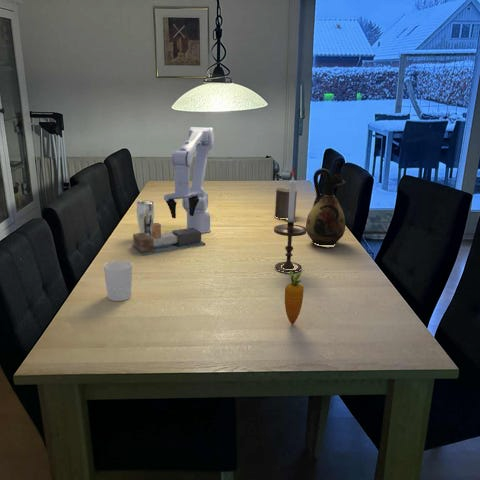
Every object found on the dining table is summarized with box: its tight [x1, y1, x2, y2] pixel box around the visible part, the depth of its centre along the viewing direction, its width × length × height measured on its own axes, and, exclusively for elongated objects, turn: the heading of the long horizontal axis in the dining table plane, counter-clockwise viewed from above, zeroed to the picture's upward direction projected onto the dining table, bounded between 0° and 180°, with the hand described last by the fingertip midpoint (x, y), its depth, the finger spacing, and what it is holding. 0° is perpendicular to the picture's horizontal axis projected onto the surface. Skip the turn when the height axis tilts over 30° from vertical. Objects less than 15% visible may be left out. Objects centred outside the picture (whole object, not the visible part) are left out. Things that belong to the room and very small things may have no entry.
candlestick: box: [273, 168, 307, 272], centre depth 168 cm, size 11×11×35 cm
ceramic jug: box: [305, 167, 346, 245], centre depth 196 cm, size 17×15×30 cm
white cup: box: [103, 259, 133, 302], centre depth 146 cm, size 8×8×10 cm
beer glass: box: [136, 200, 155, 236], centre depth 200 cm, size 7×7×15 cm
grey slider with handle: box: [150, 222, 179, 246], centre depth 191 cm, size 16×4×8 cm, turn 121°
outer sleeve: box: [131, 227, 206, 256], centre depth 193 cm, size 26×11×5 cm, turn 121°
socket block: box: [132, 233, 154, 252], centre depth 188 cm, size 4×9×5 cm, turn 31°
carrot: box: [284, 271, 305, 325], centre depth 131 cm, size 5×5×15 cm
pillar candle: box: [274, 186, 298, 218], centre depth 236 cm, size 10×10×15 cm
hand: (182, 216), depth 196 cm, fingers open, 7 cm apart
